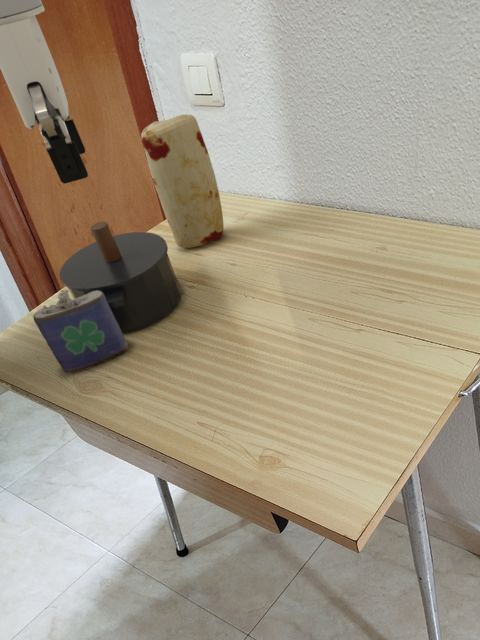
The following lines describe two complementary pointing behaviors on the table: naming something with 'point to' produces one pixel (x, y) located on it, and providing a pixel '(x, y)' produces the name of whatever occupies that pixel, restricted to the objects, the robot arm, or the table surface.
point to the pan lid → (112, 259)
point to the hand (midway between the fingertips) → (74, 166)
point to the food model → (184, 180)
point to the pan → (143, 298)
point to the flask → (81, 331)
